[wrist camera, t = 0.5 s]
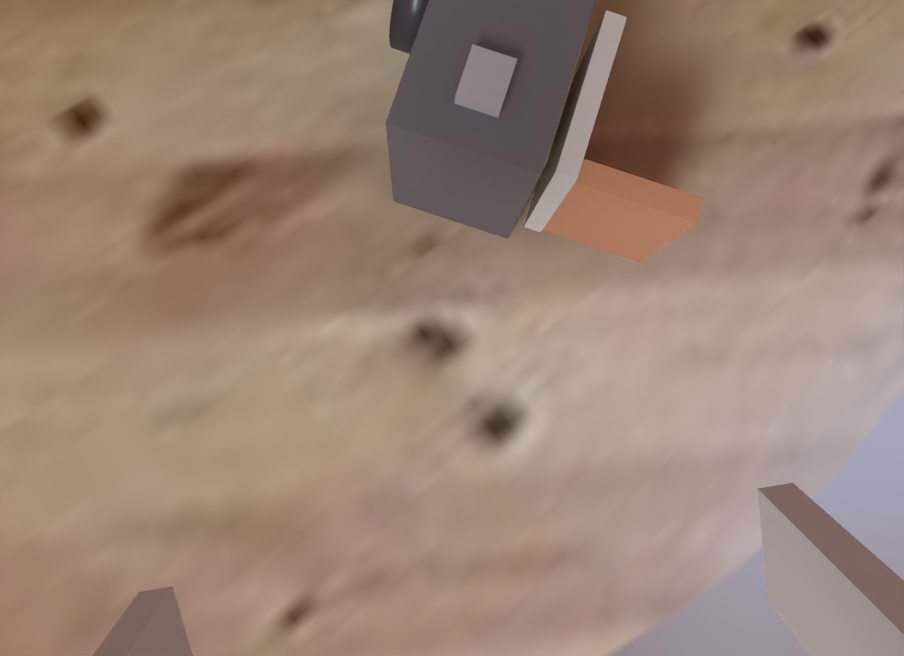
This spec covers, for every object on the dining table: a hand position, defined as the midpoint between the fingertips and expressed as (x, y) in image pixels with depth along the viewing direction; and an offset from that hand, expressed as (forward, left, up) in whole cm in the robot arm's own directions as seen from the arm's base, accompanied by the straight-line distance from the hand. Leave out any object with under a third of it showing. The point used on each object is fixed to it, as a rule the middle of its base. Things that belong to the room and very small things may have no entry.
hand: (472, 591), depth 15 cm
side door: (-15, +13, -22) cm, 30 cm away
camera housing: (-21, +7, -24) cm, 32 cm away
